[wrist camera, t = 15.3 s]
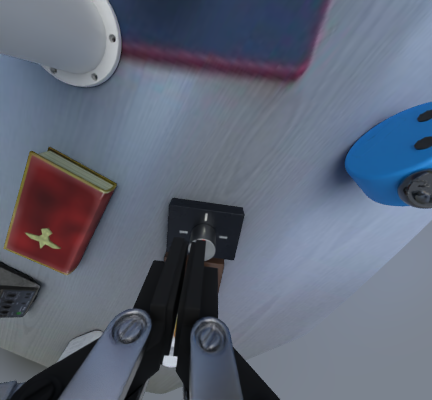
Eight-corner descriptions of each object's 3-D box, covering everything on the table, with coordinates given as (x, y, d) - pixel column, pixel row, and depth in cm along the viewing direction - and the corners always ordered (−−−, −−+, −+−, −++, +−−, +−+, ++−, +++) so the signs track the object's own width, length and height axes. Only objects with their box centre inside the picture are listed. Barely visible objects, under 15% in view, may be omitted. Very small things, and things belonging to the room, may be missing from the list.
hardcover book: (118, 184, 36) (106, 193, 32) (81, 262, 43) (67, 277, 39) (50, 146, 33) (28, 151, 29) (22, 236, 40) (1, 249, 36)
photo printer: (80, 347, 55) (45, 409, 43) (69, 339, 53) (29, 400, 42) (109, 336, 53) (80, 398, 41) (98, 327, 51) (64, 388, 40)
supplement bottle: (170, 324, 51) (160, 370, 42) (166, 310, 48) (154, 354, 40) (191, 323, 50) (185, 368, 41) (187, 308, 48) (181, 353, 39)
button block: (164, 285, 45) (159, 300, 42) (166, 250, 41) (161, 263, 38) (216, 291, 46) (216, 307, 42) (224, 257, 42) (224, 271, 38)
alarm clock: (346, 186, 35) (428, 233, 22) (326, 162, 34) (401, 197, 20) (420, 129, 31) (577, 142, 18) (401, 99, 30) (559, 88, 16)
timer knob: (213, 246, 37) (213, 264, 33) (190, 242, 37) (186, 260, 32) (217, 225, 35) (217, 242, 31) (192, 222, 35) (189, 238, 31)
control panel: (169, 242, 40) (165, 252, 38) (172, 197, 36) (168, 205, 34) (232, 250, 41) (234, 261, 38) (242, 207, 37) (244, 215, 34)
